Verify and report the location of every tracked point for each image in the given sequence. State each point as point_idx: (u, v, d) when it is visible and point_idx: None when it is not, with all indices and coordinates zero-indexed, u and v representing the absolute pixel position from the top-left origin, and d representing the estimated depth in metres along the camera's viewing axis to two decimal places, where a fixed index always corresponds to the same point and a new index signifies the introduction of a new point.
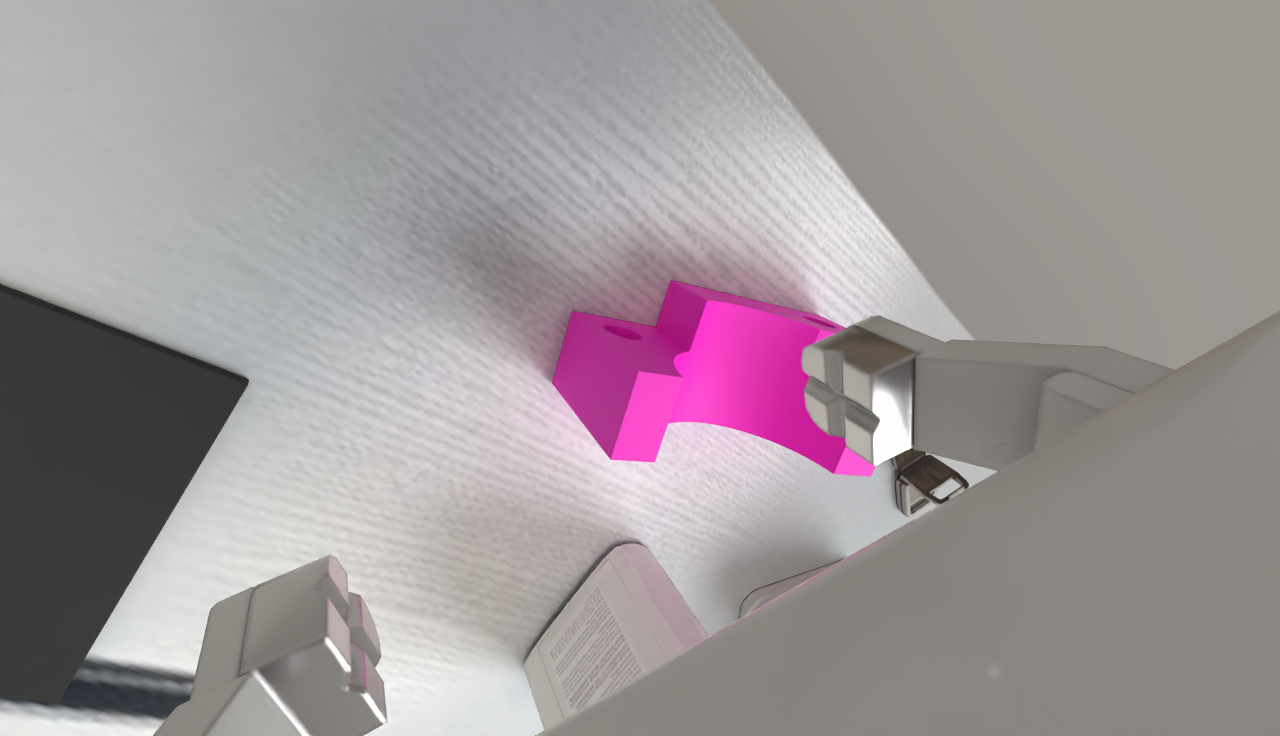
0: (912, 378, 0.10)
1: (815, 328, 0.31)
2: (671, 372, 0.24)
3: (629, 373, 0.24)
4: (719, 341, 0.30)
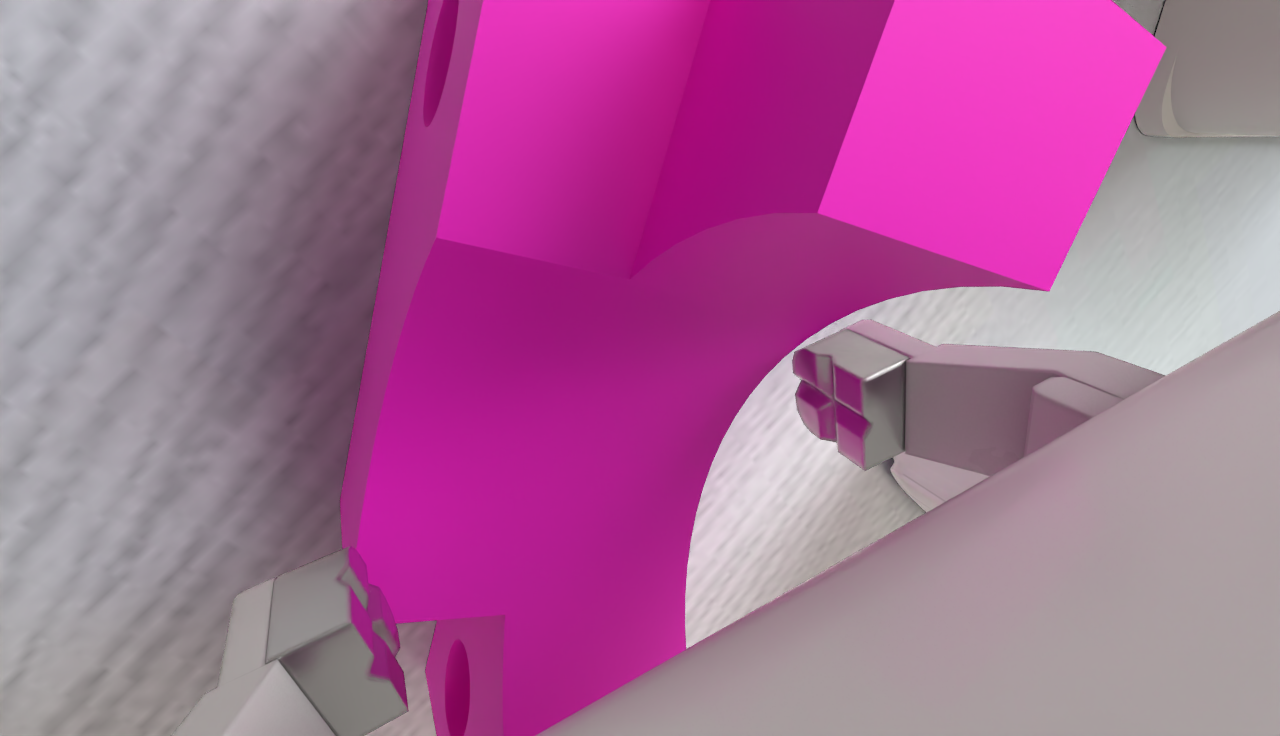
0: (903, 382, 0.10)
1: (434, 245, 0.07)
2: None
3: None
4: (487, 500, 0.10)
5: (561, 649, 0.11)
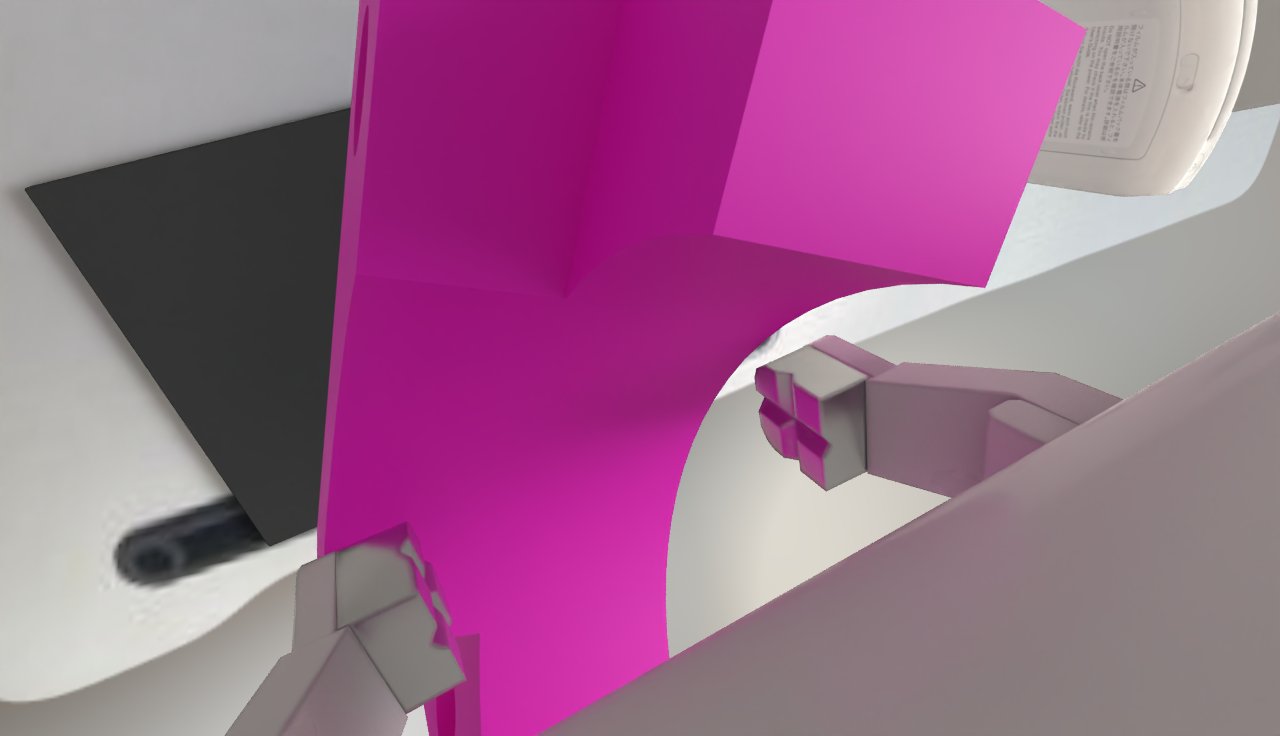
0: (863, 402, 0.09)
1: (357, 280, 0.07)
2: None
3: None
4: (453, 521, 0.10)
5: (539, 663, 0.11)
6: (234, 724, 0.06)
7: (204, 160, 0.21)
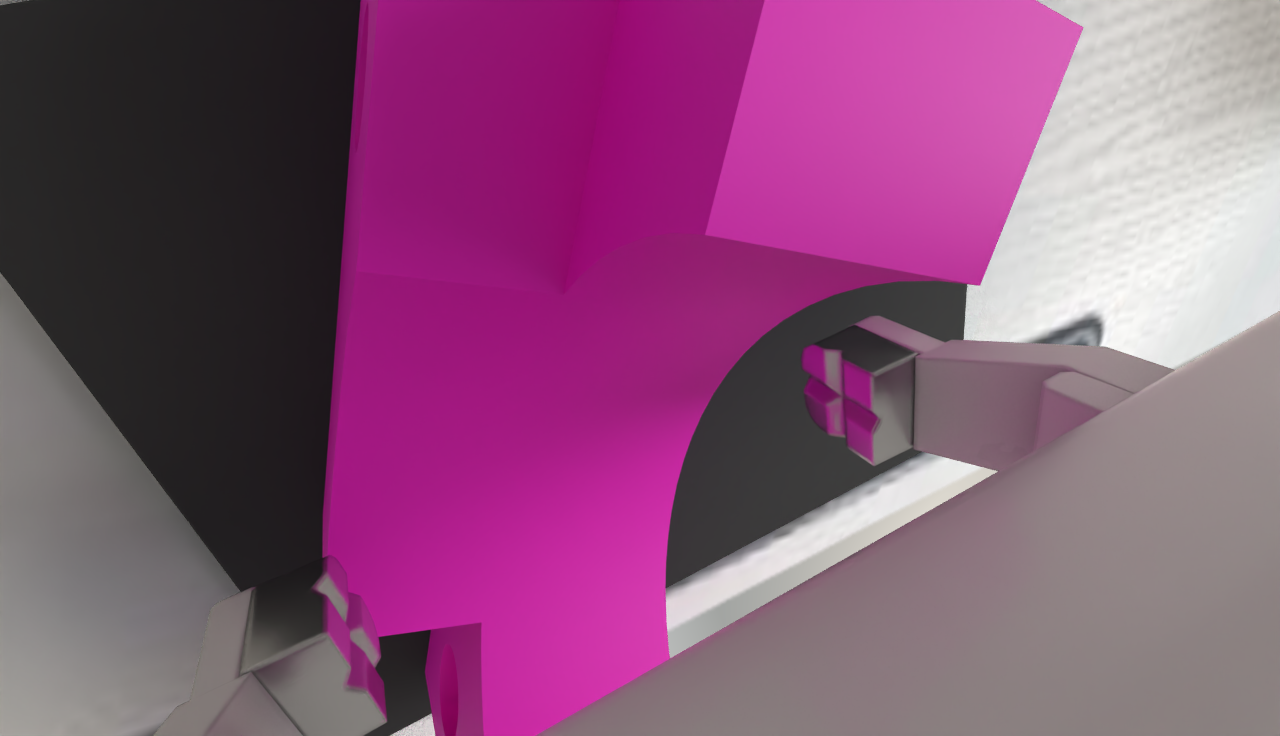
0: (912, 378, 0.10)
1: (357, 277, 0.07)
2: None
3: None
4: (455, 512, 0.11)
5: (540, 652, 0.11)
6: None
7: None
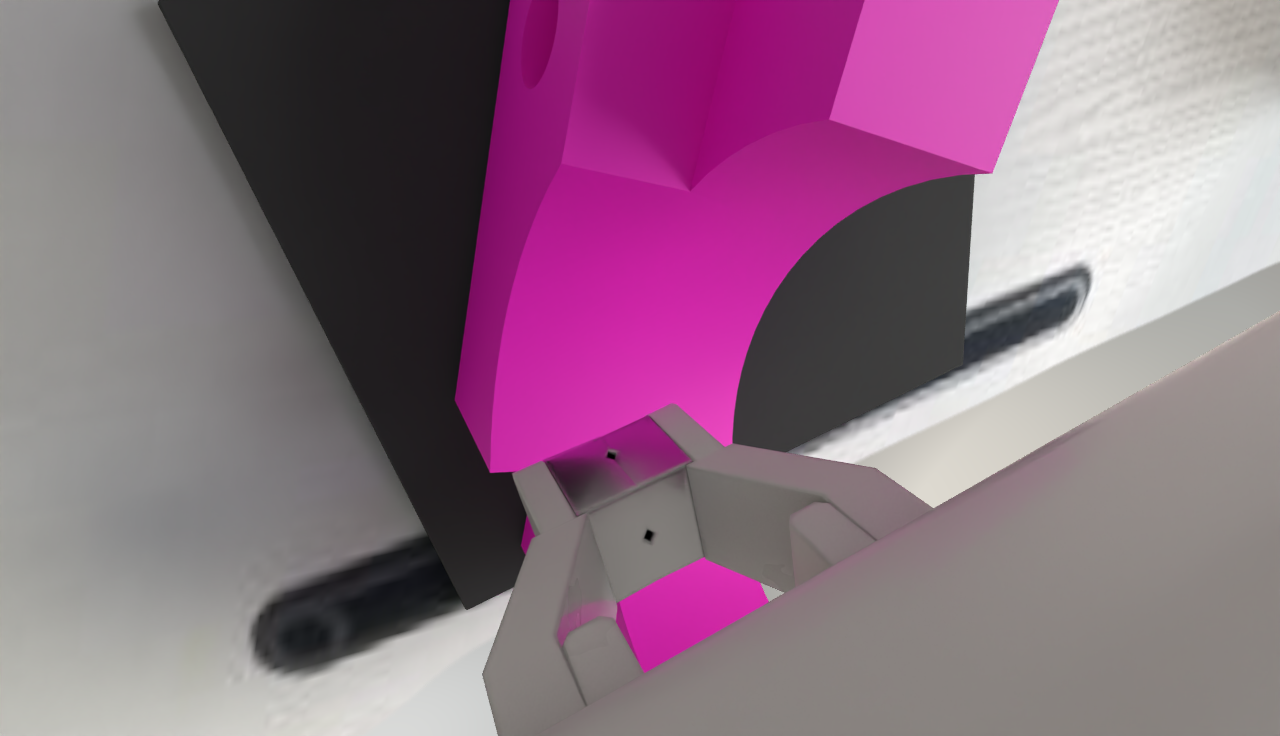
0: (686, 488, 0.09)
1: (557, 170, 0.10)
2: None
3: None
4: (582, 378, 0.14)
5: None
6: (518, 584, 0.07)
7: None
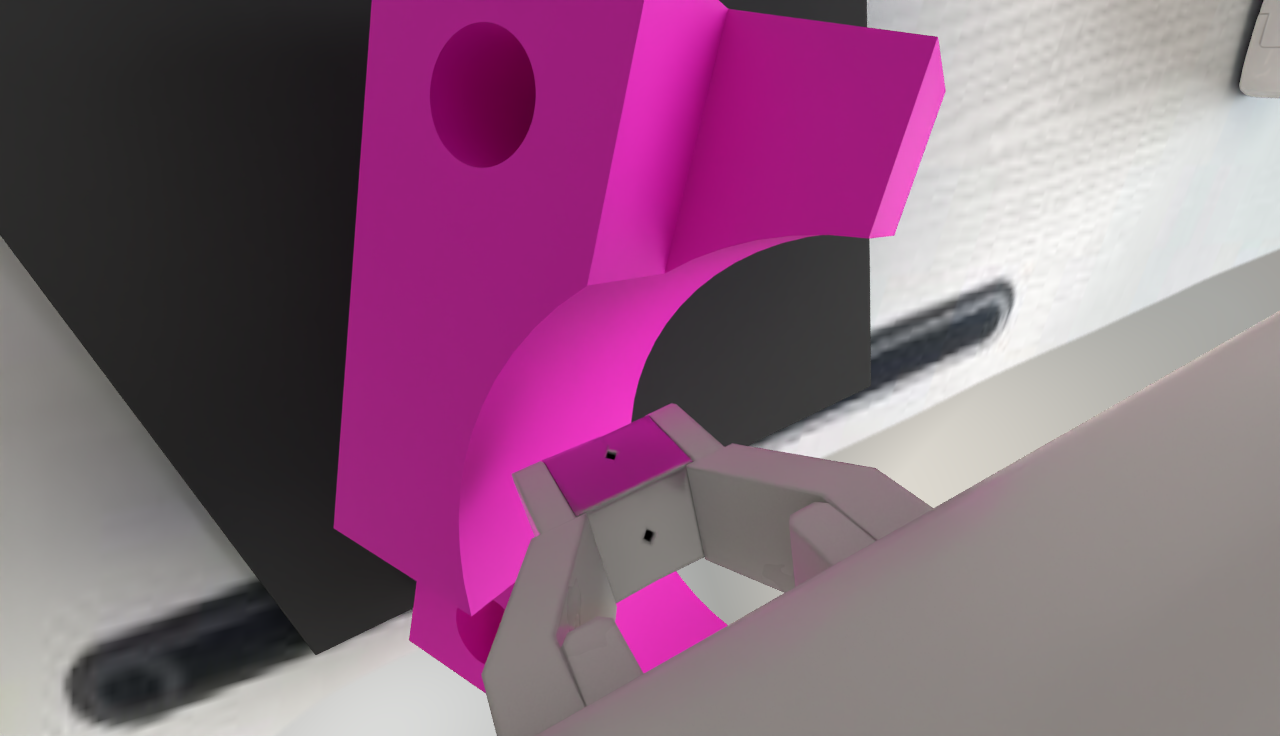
0: (686, 488, 0.09)
1: (574, 289, 0.09)
2: None
3: None
4: None
5: None
6: (518, 584, 0.07)
7: None
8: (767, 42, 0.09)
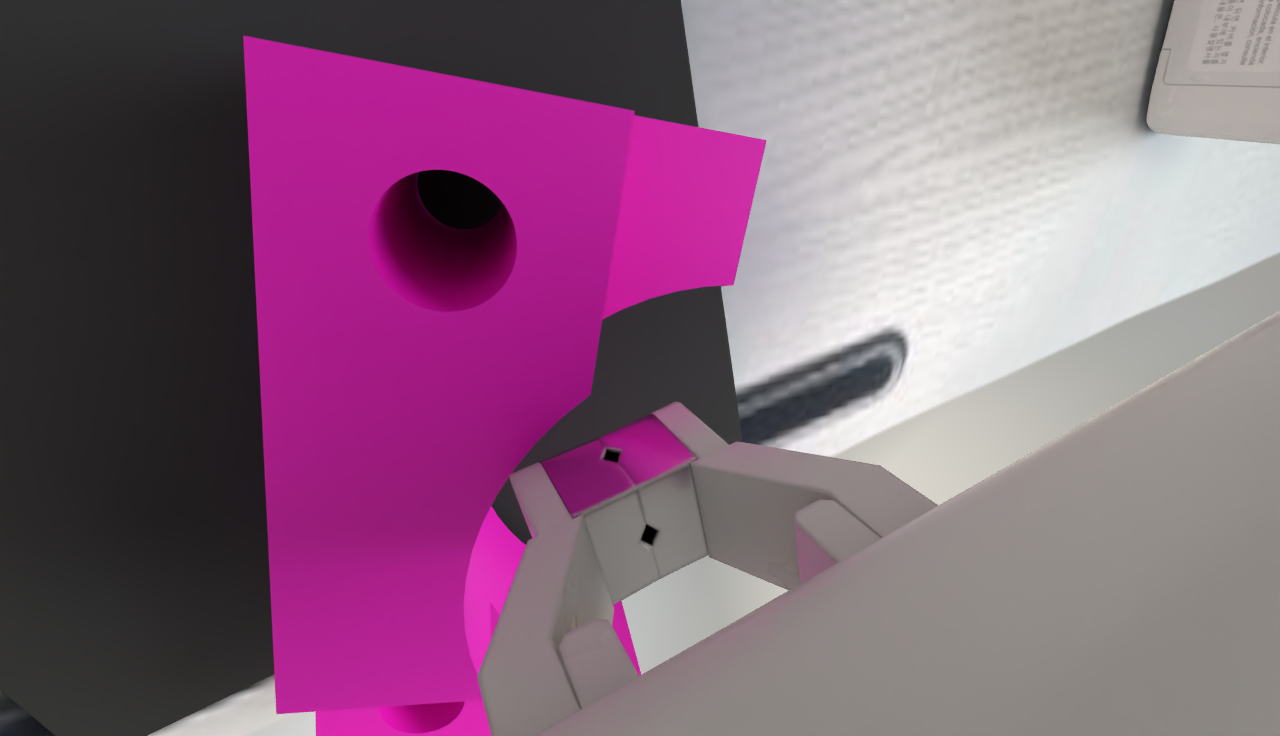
0: (691, 486, 0.09)
1: (576, 400, 0.10)
2: None
3: None
4: None
5: (503, 587, 0.15)
6: (514, 586, 0.07)
7: None
8: (641, 139, 0.11)
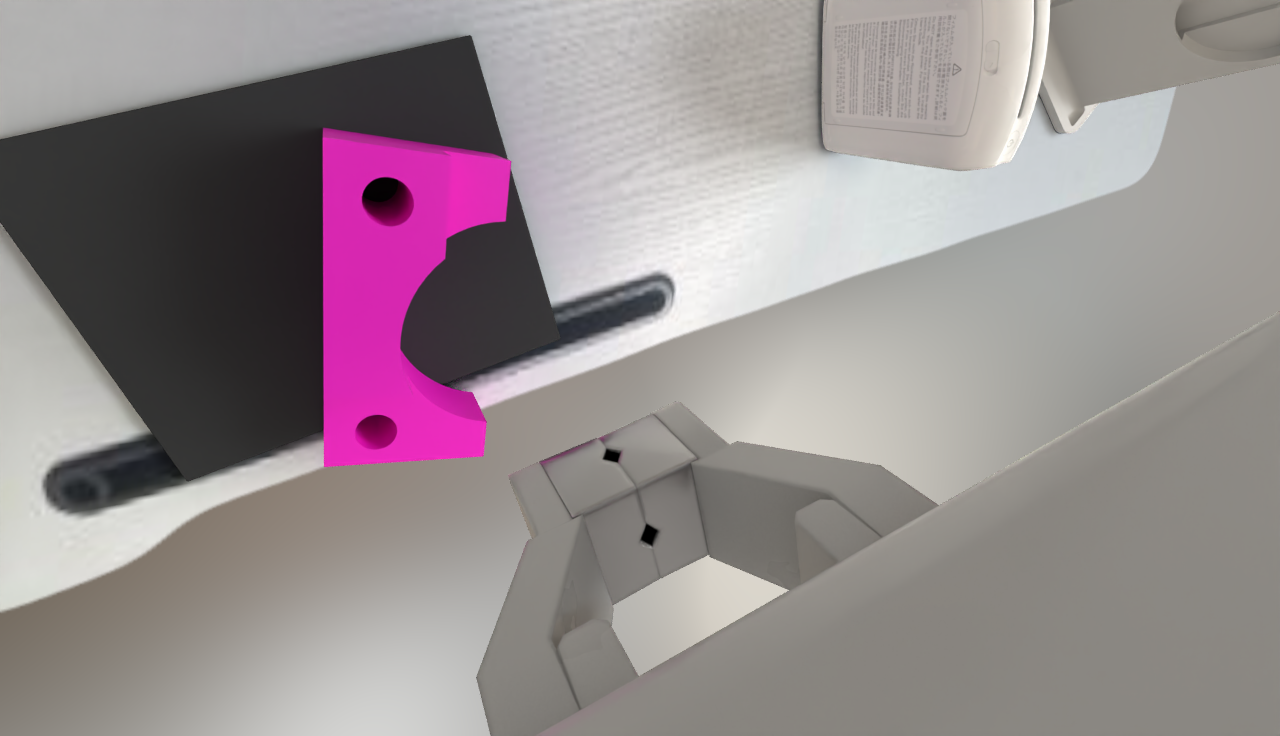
0: (691, 485, 0.09)
1: (439, 260, 0.26)
2: (477, 427, 0.32)
3: (470, 453, 0.33)
4: None
5: (412, 377, 0.31)
6: (513, 586, 0.07)
7: (111, 129, 0.25)
8: (458, 161, 0.27)
